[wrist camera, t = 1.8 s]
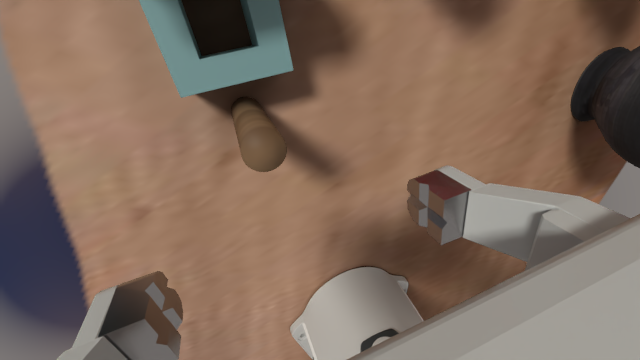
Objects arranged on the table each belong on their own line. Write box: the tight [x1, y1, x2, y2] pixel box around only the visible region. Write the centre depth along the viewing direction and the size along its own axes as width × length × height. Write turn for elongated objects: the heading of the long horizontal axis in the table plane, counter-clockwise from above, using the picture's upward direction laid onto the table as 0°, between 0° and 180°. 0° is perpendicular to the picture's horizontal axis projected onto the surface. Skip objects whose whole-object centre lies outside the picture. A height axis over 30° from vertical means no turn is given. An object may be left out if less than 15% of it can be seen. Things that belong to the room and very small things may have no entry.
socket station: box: [139, 0, 293, 98], centre depth 17 cm, size 9×10×9 cm
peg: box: [231, 97, 287, 172], centre depth 20 cm, size 3×3×10 cm
